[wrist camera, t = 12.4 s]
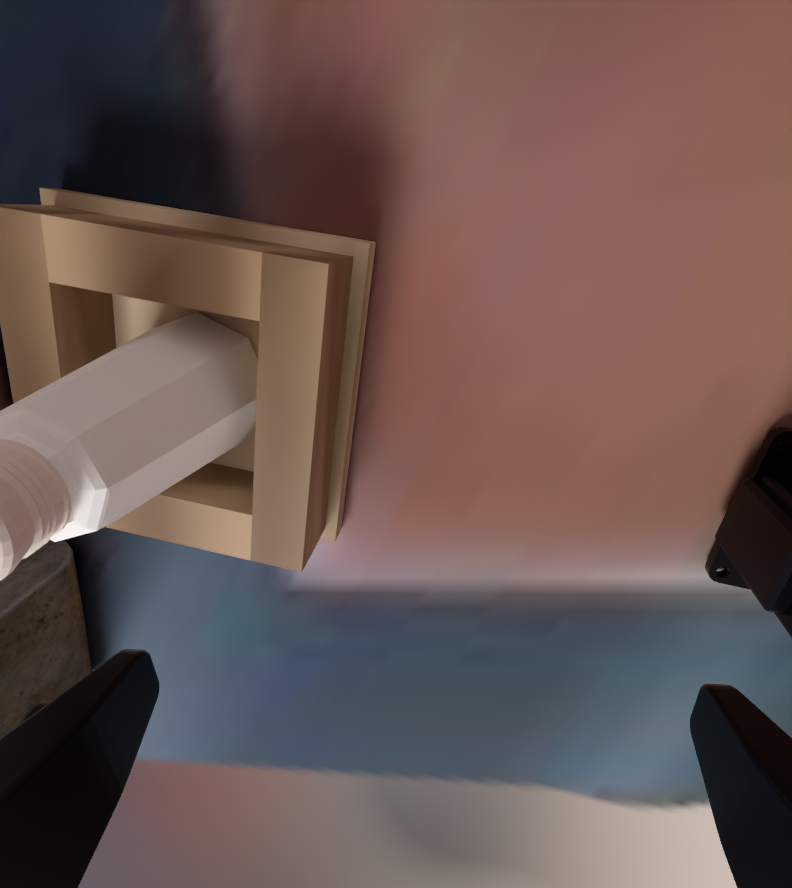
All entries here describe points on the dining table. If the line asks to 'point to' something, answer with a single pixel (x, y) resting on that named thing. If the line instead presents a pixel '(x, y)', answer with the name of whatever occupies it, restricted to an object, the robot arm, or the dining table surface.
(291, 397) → the socket holder
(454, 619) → the dining table surface
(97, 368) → the pepper shaker
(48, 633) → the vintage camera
